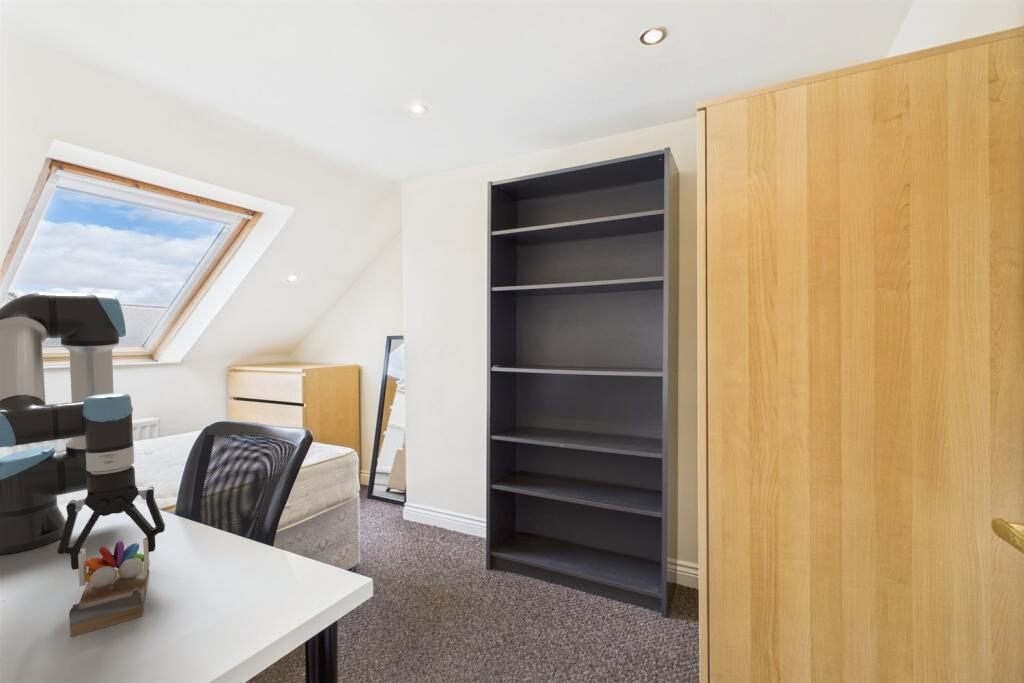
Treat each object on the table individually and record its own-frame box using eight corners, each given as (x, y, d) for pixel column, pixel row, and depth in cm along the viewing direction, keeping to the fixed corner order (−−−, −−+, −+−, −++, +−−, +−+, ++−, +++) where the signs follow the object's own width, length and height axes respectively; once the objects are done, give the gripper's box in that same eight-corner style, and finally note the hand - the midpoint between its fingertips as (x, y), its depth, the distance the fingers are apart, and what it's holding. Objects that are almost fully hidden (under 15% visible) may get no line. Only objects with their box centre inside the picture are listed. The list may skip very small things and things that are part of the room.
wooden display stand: (89, 585, 99) (88, 562, 98) (149, 570, 104) (148, 548, 104) (70, 637, 82) (68, 608, 82) (142, 616, 88) (140, 589, 88)
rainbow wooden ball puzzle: (82, 579, 96) (80, 544, 95) (141, 561, 103) (140, 529, 102) (86, 595, 90) (84, 558, 89) (149, 575, 97) (147, 541, 97)
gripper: (30, 485, 86) (36, 602, 87) (176, 463, 99) (181, 565, 100) (41, 474, 92) (46, 584, 93) (177, 455, 105) (181, 552, 106)
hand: (116, 574), depth 96 cm, fingers closed on rainbow wooden ball puzzle, 9 cm apart
